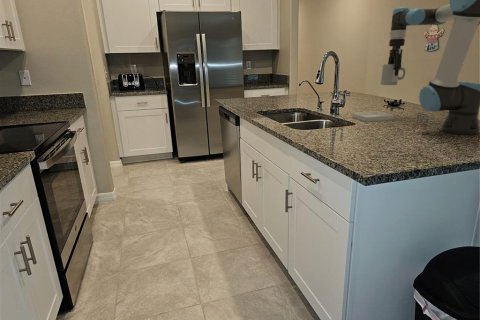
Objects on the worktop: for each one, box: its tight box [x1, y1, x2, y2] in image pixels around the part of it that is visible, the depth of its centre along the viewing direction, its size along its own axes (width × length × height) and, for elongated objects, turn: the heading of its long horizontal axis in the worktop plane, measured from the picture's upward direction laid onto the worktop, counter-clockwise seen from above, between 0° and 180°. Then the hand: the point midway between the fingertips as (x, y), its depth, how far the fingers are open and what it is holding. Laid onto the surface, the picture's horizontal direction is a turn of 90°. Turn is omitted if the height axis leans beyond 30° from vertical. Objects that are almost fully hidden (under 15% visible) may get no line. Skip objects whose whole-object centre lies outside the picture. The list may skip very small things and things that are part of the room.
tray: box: [351, 110, 395, 123], centre depth 186 cm, size 18×16×3 cm
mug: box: [380, 63, 406, 86], centre depth 178 cm, size 12×8×11 cm
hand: (392, 80), depth 180 cm, fingers closed on mug, 8 cm apart
